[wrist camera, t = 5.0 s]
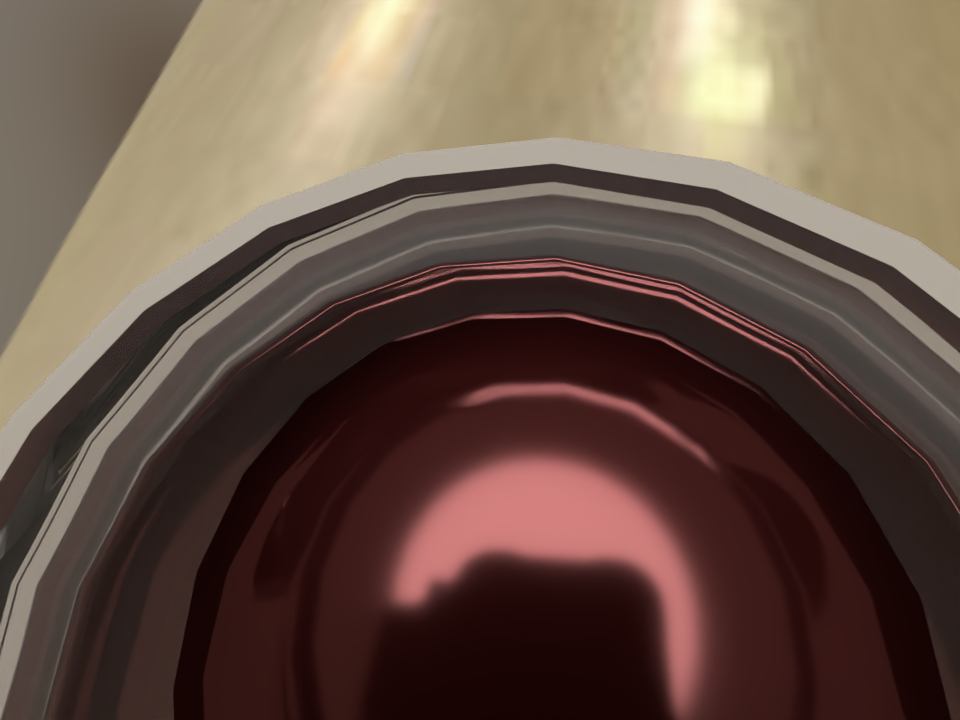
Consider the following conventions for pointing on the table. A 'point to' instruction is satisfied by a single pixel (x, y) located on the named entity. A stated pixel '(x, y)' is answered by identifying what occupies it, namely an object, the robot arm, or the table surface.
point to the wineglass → (501, 459)
